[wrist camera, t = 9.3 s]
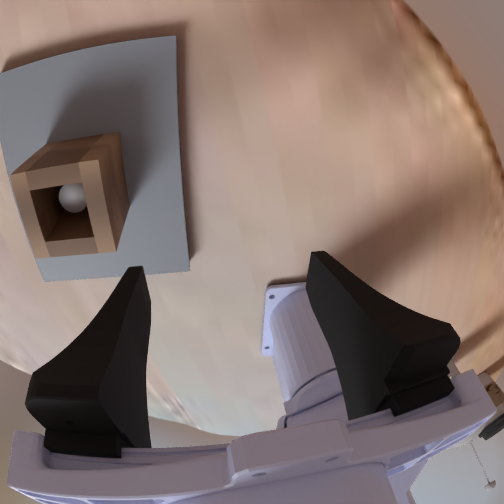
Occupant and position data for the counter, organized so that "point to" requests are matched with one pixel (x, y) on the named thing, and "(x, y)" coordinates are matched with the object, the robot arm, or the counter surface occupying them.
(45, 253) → the walnut collar
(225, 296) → the counter surface
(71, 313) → the counter surface
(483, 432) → the coffee cup
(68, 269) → the pin plate
